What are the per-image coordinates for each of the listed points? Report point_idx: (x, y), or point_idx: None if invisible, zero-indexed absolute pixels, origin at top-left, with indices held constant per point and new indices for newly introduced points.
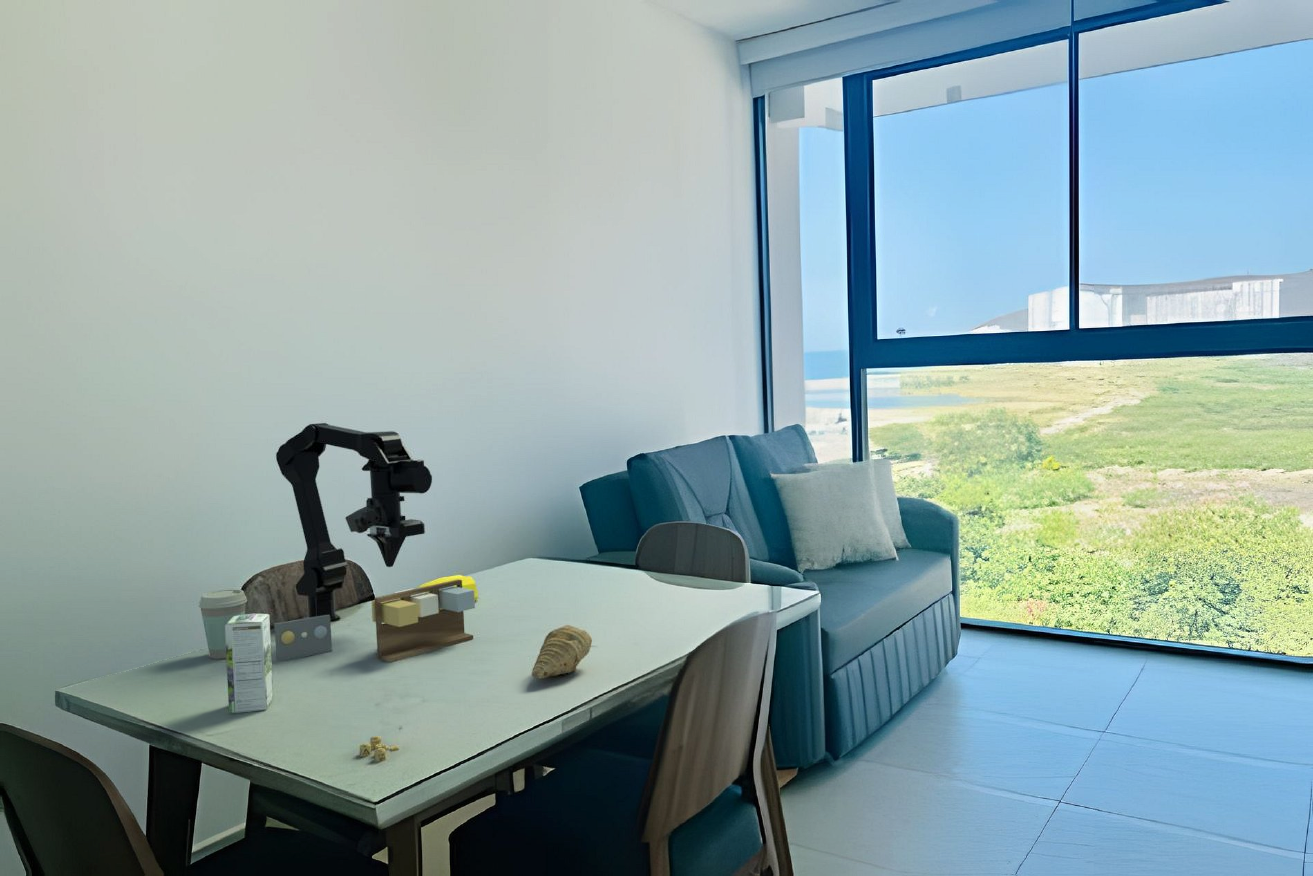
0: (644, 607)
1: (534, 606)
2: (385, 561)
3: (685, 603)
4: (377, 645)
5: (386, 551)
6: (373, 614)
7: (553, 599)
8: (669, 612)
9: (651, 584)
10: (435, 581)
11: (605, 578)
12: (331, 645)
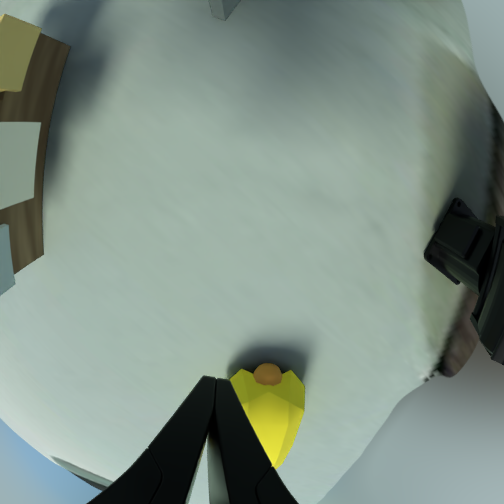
0: (34, 418)
1: (121, 427)
2: (224, 402)
3: (28, 426)
4: (53, 39)
5: (160, 459)
6: (25, 25)
7: (135, 450)
8: (8, 401)
9: (111, 477)
10: (273, 446)
11: None
12: (211, 9)
